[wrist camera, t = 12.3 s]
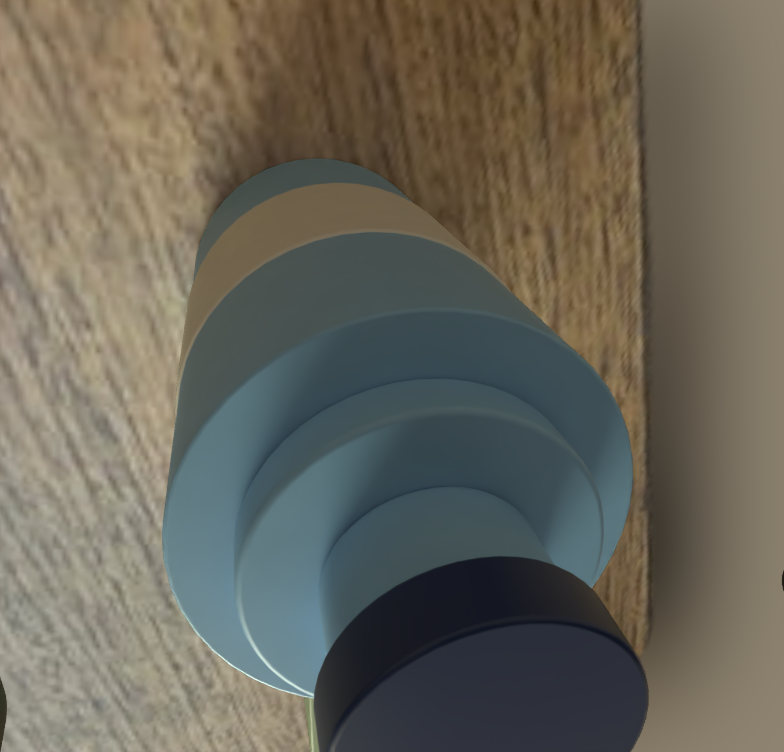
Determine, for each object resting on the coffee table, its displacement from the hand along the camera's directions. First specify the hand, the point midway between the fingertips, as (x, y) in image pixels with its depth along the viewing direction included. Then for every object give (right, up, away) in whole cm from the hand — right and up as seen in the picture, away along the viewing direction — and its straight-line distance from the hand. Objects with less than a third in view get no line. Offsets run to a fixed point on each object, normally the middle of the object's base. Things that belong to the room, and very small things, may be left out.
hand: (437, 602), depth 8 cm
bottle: (-2, 0, +11) cm, 11 cm away
